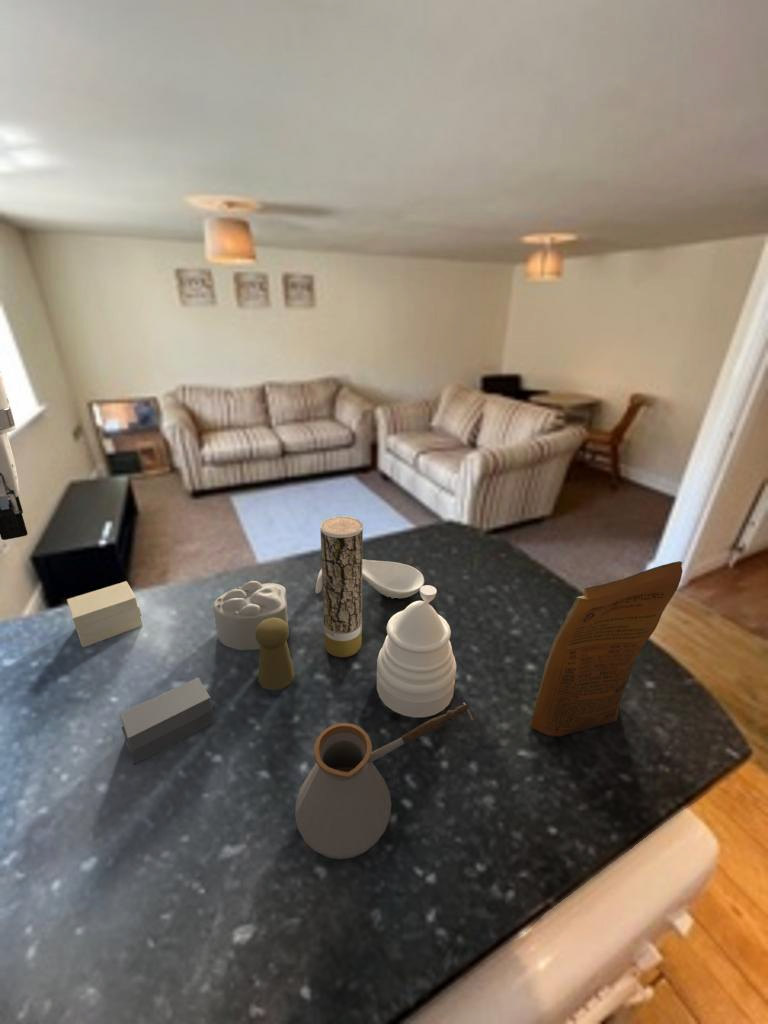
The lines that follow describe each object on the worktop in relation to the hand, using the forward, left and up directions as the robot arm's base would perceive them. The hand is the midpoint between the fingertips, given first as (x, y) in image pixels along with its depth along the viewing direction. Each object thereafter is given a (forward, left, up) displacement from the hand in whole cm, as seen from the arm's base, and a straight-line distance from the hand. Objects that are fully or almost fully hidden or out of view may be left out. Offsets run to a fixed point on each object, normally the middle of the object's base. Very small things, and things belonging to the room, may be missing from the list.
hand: (13, 525), depth 73 cm
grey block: (+11, -34, -23) cm, 42 cm away
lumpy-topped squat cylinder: (+30, -21, -23) cm, 43 cm away
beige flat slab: (+9, -3, -19) cm, 21 cm away
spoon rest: (+55, -24, -23) cm, 65 cm away
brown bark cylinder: (+41, -35, -23) cm, 58 cm away
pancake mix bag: (+60, -71, -23) cm, 95 cm away
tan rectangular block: (+9, -3, -23) cm, 25 cm away
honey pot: (+45, -50, -23) cm, 71 cm away
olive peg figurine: (+28, -34, -23) cm, 49 cm away
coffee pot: (+28, -62, -23) cm, 71 cm away
